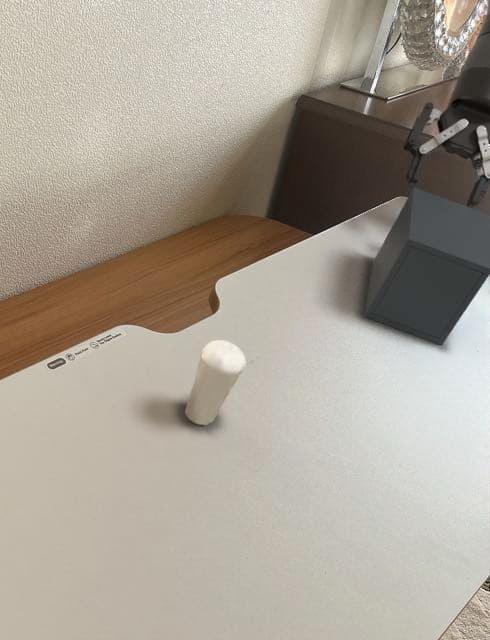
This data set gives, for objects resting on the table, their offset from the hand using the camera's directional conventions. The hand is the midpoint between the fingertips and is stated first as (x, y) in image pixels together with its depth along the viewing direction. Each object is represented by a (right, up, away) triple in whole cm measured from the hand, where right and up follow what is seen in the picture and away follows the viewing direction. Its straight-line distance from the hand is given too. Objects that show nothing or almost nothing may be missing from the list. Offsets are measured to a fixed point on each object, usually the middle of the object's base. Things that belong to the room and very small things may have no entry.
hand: (441, 195), depth 121 cm
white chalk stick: (-36, -34, -26) cm, 56 cm away
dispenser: (-6, -15, -3) cm, 17 cm away
